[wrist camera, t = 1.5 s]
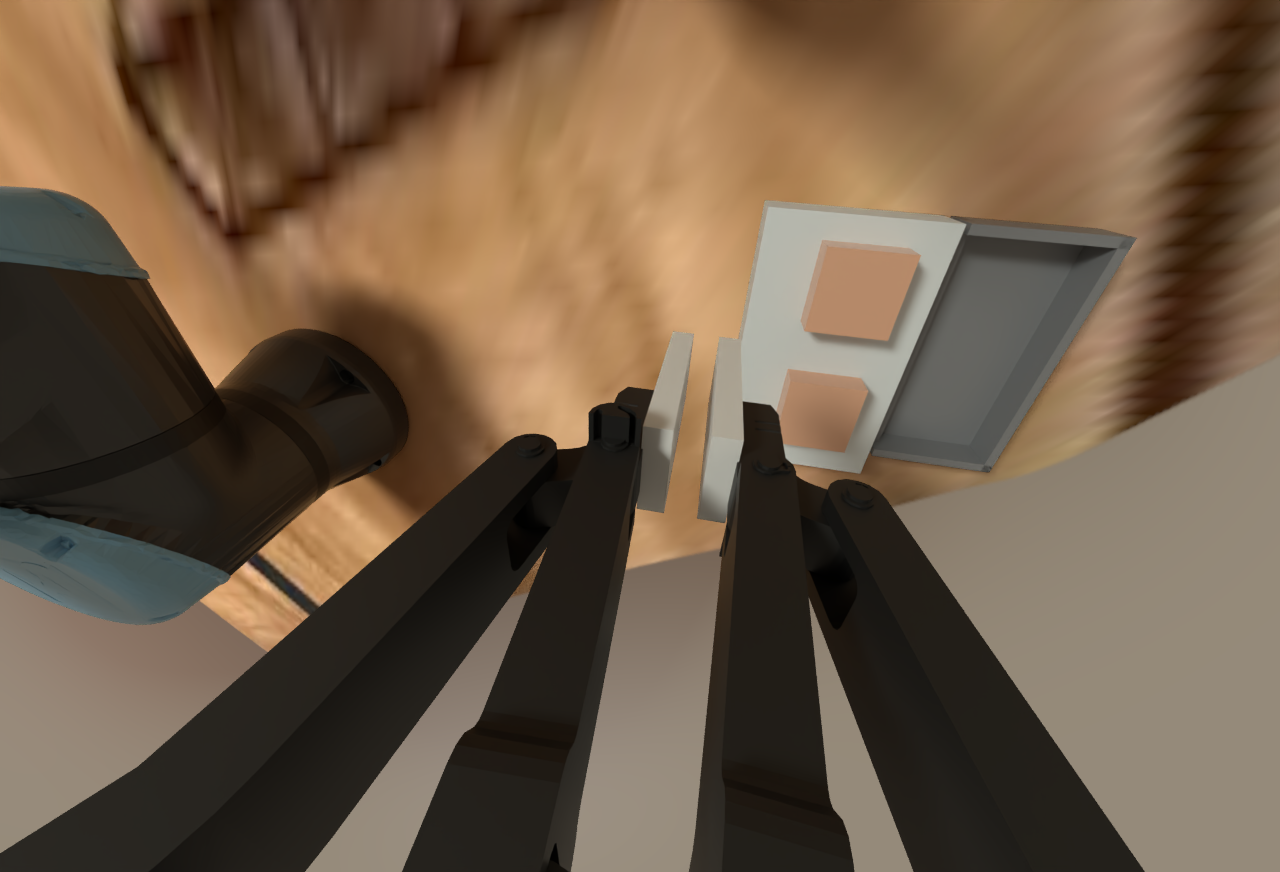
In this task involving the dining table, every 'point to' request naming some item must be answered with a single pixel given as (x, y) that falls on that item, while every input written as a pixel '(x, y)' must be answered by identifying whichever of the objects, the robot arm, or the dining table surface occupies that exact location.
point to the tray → (995, 338)
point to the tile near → (858, 289)
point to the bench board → (784, 344)
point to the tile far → (819, 409)
